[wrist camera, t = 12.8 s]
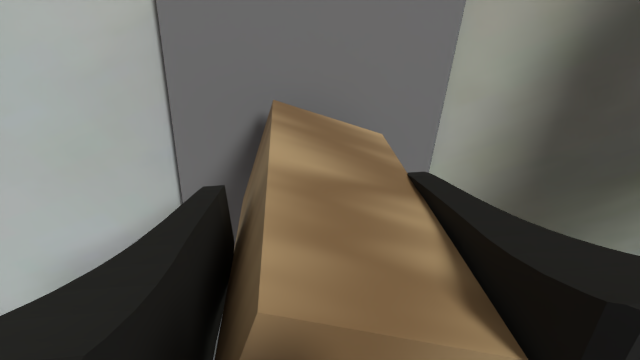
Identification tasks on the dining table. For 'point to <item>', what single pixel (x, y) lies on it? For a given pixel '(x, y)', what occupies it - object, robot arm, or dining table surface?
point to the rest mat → (301, 76)
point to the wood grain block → (347, 257)
